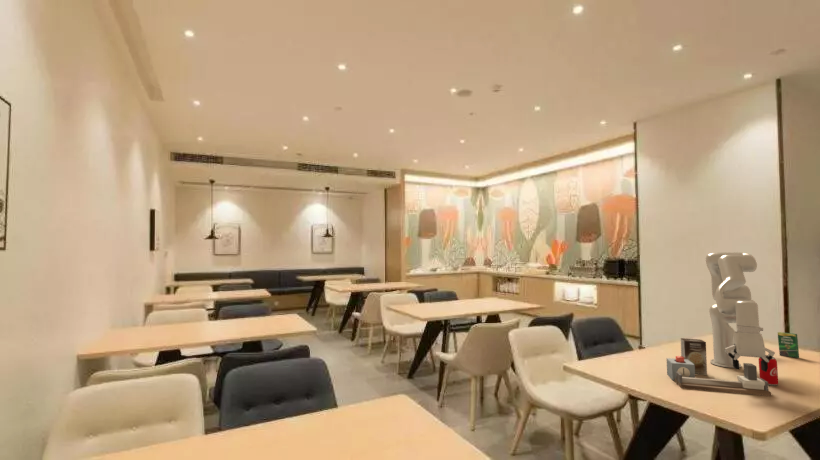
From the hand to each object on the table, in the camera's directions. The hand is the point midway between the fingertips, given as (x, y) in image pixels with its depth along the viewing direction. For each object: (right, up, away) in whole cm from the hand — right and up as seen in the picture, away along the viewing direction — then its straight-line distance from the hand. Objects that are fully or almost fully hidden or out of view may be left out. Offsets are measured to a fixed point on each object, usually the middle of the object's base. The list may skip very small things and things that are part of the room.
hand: (750, 369), depth 169 cm
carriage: (0, -7, 0) cm, 7 cm away
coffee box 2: (+67, -11, +52) cm, 86 cm away
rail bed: (-10, -10, +4) cm, 14 cm away
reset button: (-18, -3, +18) cm, 25 cm away
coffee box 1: (-6, -11, +26) cm, 28 cm away
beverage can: (+16, -10, +9) cm, 21 cm away
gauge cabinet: (-18, -10, +17) cm, 27 cm away
